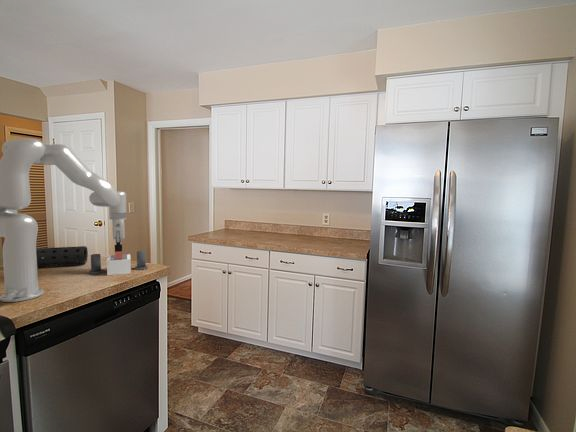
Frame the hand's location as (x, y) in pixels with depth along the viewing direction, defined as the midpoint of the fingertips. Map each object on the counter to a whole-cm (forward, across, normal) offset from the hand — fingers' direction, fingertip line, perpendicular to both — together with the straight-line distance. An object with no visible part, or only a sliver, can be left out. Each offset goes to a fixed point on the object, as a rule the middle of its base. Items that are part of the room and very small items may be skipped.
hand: (118, 252), depth 153 cm
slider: (+2, -6, 0) cm, 6 cm away
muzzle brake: (+10, +22, +30) cm, 38 cm away
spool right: (+9, 0, -10) cm, 14 cm away
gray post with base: (+9, 0, +10) cm, 14 cm away
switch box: (+9, -1, 0) cm, 9 cm away
